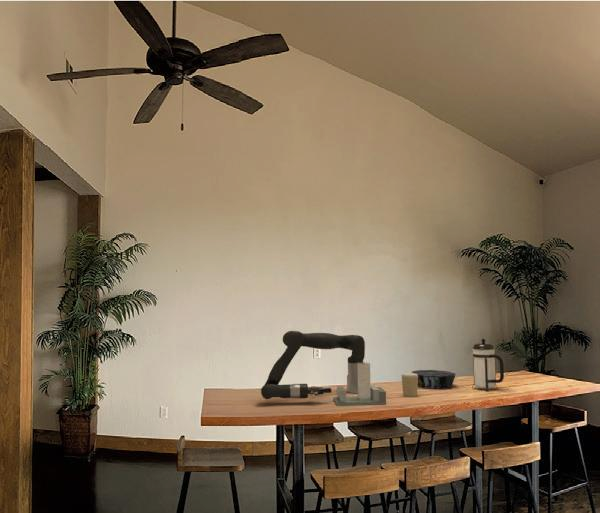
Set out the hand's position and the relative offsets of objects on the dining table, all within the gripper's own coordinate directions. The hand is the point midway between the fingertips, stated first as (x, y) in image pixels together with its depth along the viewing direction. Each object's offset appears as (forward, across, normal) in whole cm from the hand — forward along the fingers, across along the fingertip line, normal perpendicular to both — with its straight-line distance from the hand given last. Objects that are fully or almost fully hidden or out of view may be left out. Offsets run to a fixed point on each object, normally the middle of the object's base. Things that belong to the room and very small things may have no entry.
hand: (331, 390), depth 277 cm
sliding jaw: (+6, 0, +5) cm, 7 cm away
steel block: (+18, 0, +5) cm, 18 cm away
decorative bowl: (+69, +43, +7) cm, 82 cm away
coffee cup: (+47, +14, +7) cm, 49 cm away
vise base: (+15, 0, +6) cm, 16 cm away
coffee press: (+97, +27, +7) cm, 101 cm away
